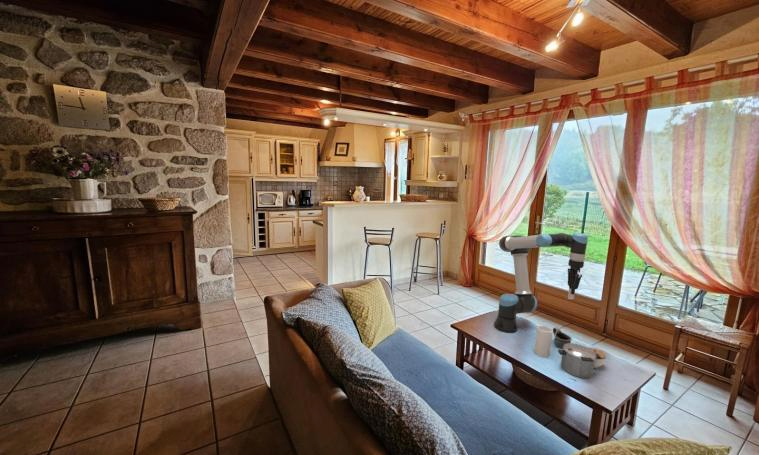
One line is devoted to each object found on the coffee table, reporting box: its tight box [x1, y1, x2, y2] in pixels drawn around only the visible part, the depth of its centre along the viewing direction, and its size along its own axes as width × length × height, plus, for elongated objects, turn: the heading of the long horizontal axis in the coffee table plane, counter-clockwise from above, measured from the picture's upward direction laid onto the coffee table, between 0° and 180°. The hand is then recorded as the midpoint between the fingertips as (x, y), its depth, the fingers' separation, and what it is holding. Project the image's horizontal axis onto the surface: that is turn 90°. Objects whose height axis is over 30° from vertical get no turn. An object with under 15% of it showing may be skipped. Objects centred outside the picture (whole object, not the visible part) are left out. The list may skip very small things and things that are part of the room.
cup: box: [533, 324, 553, 358], centre depth 191 cm, size 8×8×16 cm
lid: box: [562, 342, 596, 362], centre depth 174 cm, size 17×15×2 cm
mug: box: [552, 326, 573, 349], centre depth 202 cm, size 10×12×10 cm
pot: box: [557, 348, 601, 379], centre depth 177 cm, size 16×21×10 cm
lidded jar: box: [586, 346, 607, 369], centre depth 182 cm, size 11×11×9 cm
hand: (570, 298), depth 189 cm, fingers closed
